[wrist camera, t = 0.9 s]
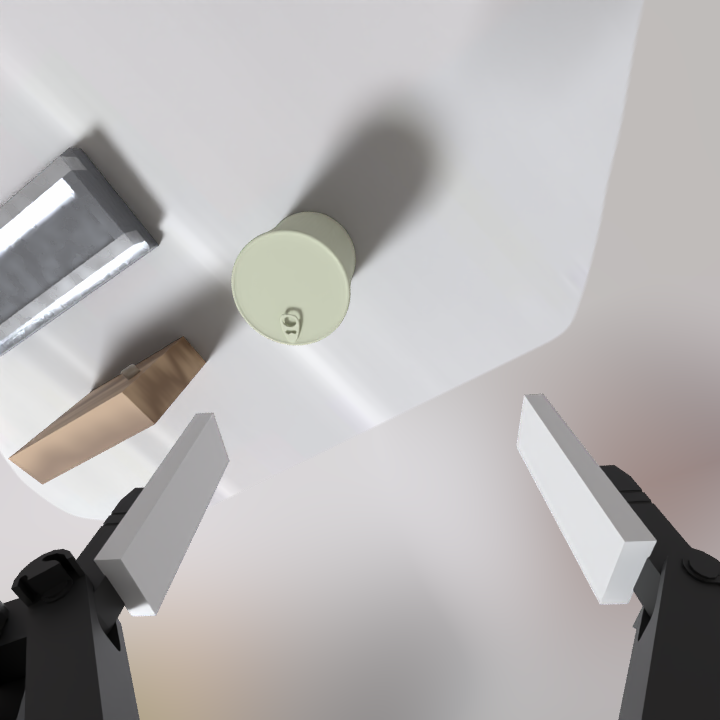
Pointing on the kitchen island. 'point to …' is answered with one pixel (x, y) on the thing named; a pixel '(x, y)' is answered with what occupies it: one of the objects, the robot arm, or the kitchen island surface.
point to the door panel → (111, 412)
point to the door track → (61, 244)
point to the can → (295, 279)
